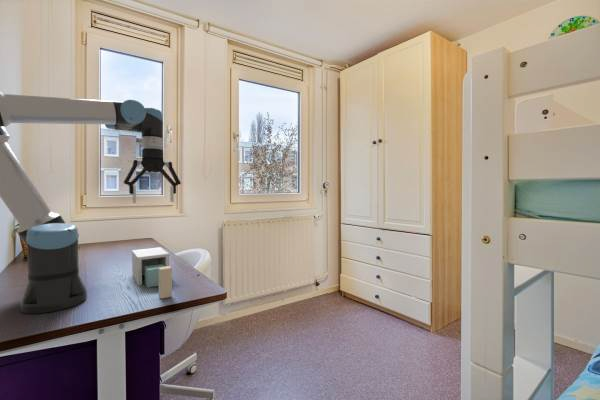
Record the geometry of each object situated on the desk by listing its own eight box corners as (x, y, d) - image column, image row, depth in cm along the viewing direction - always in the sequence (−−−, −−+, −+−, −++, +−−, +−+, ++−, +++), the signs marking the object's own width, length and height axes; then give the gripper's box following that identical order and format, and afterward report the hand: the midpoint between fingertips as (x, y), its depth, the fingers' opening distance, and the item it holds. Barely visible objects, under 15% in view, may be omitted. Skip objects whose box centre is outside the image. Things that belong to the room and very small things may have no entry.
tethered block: (156, 299, 89) (155, 270, 89) (144, 283, 106) (144, 258, 105) (176, 295, 93) (176, 267, 93) (162, 279, 109) (162, 255, 109)
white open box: (138, 285, 104) (137, 257, 103) (132, 275, 116) (131, 250, 116) (169, 280, 110) (169, 253, 109) (161, 271, 122) (160, 247, 122)
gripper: (116, 144, 106) (118, 203, 107) (187, 150, 121) (188, 201, 122) (114, 147, 112) (116, 202, 113) (182, 152, 127) (183, 201, 128)
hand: (153, 202), depth 117 cm, fingers open, 13 cm apart
